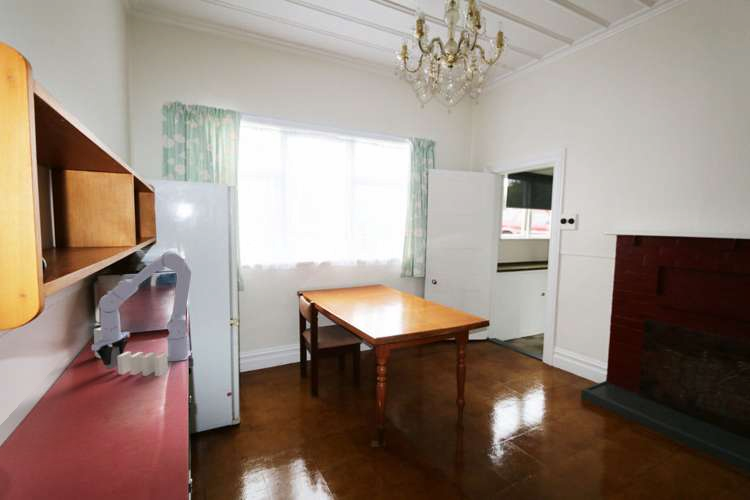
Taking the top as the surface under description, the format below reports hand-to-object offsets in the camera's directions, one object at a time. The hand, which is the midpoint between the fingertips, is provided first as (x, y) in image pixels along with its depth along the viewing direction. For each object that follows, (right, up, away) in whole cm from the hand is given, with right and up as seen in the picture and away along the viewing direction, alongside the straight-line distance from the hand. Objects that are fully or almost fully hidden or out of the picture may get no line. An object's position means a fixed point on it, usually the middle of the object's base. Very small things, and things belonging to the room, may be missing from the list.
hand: (113, 361), depth 127 cm
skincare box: (-15, -2, +15) cm, 21 cm away
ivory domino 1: (+5, -4, 0) cm, 6 cm away
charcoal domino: (0, -2, 0) cm, 2 cm away
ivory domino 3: (+14, -4, -1) cm, 15 cm away
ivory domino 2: (+10, -4, 0) cm, 10 cm away
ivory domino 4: (+19, -4, -1) cm, 20 cm away
